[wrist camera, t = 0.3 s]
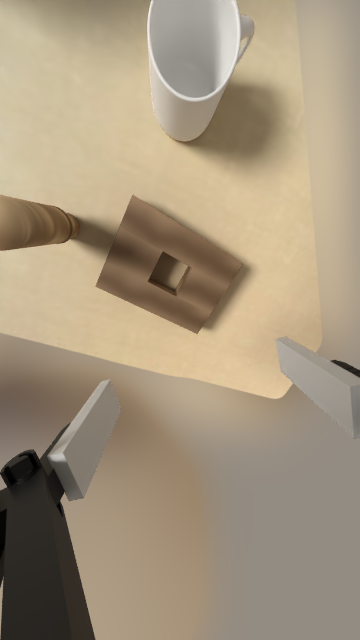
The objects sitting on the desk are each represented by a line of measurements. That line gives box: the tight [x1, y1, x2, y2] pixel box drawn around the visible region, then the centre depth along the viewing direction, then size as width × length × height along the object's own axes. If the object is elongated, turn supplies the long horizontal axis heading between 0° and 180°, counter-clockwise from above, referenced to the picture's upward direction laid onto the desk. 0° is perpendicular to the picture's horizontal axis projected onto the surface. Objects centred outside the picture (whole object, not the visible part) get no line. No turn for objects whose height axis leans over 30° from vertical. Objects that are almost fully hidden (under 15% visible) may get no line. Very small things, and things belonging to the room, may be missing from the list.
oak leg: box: [0, 195, 80, 251], centre depth 25 cm, size 5×5×16 cm
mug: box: [147, 0, 254, 141], centre depth 23 cm, size 9×12×11 cm
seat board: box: [96, 195, 243, 334], centre depth 35 cm, size 15×20×4 cm
